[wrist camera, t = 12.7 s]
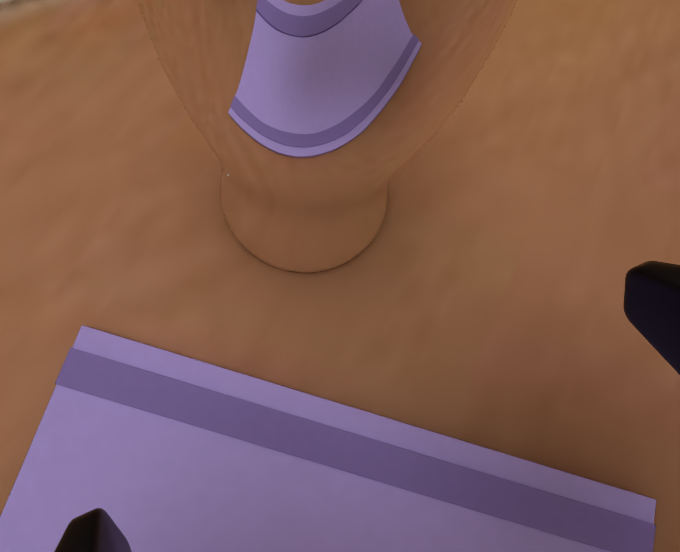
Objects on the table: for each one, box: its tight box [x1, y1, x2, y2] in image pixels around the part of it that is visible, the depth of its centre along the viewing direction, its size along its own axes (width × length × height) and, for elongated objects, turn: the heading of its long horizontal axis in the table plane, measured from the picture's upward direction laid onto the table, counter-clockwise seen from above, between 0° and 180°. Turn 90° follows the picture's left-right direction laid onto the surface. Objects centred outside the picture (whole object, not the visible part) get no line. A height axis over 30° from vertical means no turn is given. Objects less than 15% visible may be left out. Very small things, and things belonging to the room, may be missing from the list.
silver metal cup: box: [137, 0, 518, 272], centre depth 14 cm, size 7×7×15 cm
